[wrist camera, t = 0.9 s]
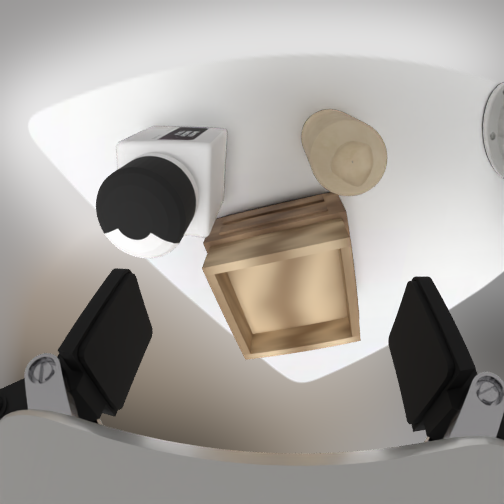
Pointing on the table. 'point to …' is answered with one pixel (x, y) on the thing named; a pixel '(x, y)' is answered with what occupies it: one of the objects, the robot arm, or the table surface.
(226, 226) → the base crate
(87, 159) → the table surface
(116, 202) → the container
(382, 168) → the candle
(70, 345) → the robot arm
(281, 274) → the top crate
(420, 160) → the table surface
